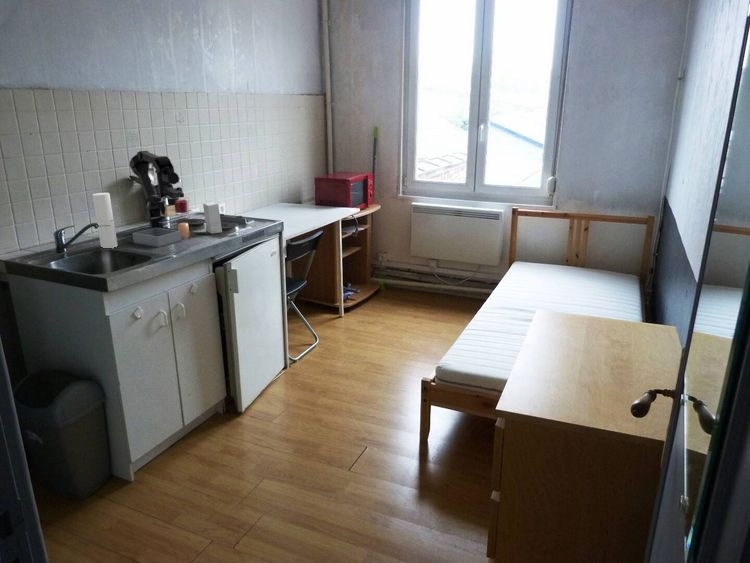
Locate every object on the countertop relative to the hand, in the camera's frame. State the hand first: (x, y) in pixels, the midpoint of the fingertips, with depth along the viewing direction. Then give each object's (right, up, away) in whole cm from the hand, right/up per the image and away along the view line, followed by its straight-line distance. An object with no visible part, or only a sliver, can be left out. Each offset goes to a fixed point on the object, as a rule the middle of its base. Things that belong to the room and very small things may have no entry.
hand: (168, 213), depth 284 cm
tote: (-1, -15, -11) cm, 19 cm away
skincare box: (+21, -9, +9) cm, 24 cm away
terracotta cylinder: (+9, -12, -2) cm, 15 cm away
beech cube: (0, -1, 0) cm, 1 cm away
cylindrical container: (-21, -18, -19) cm, 33 cm away
